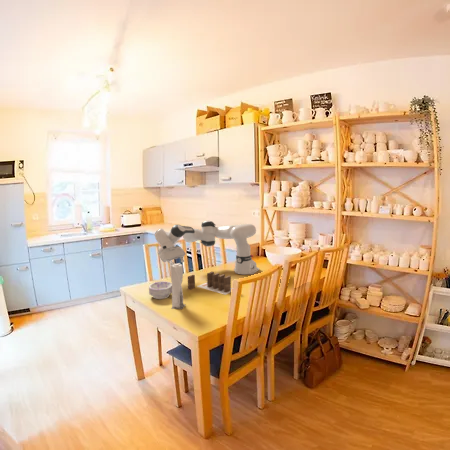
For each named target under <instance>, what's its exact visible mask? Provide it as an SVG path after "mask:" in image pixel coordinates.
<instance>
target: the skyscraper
mask: <svg viewBox="0 0 450 450" xmlns="http://www.w3.org/2000/svg"><path fill="white" fill-rule="evenodd" d="M171 261H172V260H170V263H169V266H170V267H169V268H170V280H171V281H170V283H172V293H171V308H170V309H171V310H184V308H185V306H187V304H185V303H184V294H183V292H184V291H183V286H182V285H183V277H184V276H183V275H184V273H183V272H184V271H183V270H184V267H183V266H184V265H183V263H182V264H181V263H180V262H178V263H174V264H173V265H171V263H172V262H173V261H172V262H171Z"/></svg>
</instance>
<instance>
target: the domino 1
mask: <svg viewBox="0 0 450 450" xmlns="http://www.w3.org/2000/svg"><path fill="white" fill-rule="evenodd" d="M195 277H196V276H195V274H191V275H188V276H187V290H193V289H196V282H195V281H196V278H195Z"/></svg>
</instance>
